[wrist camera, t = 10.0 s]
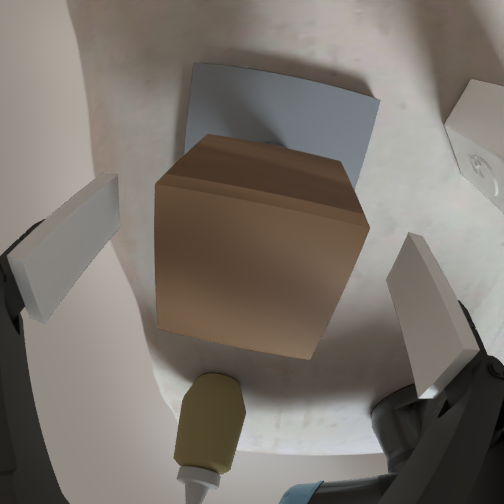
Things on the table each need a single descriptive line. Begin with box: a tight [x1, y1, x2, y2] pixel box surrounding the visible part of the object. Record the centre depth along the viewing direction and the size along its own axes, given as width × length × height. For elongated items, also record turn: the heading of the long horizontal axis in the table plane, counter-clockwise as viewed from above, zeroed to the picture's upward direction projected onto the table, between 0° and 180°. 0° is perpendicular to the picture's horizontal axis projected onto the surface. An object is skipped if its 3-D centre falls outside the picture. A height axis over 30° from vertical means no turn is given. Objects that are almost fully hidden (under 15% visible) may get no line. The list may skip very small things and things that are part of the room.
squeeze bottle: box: [174, 373, 246, 504], centre depth 31 cm, size 8×8×18 cm
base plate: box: [184, 63, 380, 190], centre depth 21 cm, size 12×12×2 cm
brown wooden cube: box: [154, 134, 370, 360], centre depth 12 cm, size 6×6×6 cm
